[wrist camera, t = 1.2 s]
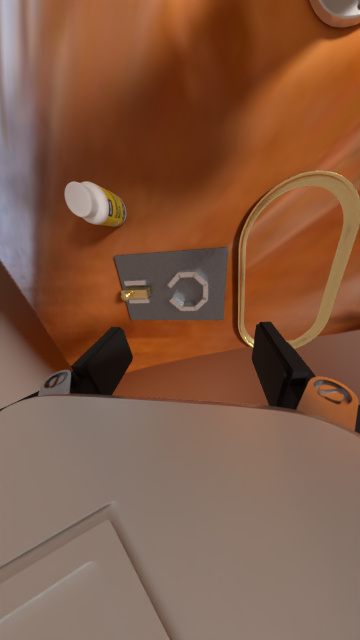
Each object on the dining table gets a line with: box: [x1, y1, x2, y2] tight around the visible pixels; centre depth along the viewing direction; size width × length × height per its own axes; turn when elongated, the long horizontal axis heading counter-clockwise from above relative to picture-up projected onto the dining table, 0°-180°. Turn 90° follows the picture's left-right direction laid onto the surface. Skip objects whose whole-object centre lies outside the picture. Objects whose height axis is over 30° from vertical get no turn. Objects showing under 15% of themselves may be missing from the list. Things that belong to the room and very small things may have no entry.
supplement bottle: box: [65, 182, 126, 227], centre depth 25 cm, size 5×5×10 cm
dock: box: [114, 247, 228, 320], centre depth 34 cm, size 16×24×4 cm, turn 95°
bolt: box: [121, 287, 151, 301], centre depth 34 cm, size 2×6×4 cm, turn 95°
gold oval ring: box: [238, 170, 360, 349], centre depth 31 cm, size 19×35×2 cm, turn 10°
